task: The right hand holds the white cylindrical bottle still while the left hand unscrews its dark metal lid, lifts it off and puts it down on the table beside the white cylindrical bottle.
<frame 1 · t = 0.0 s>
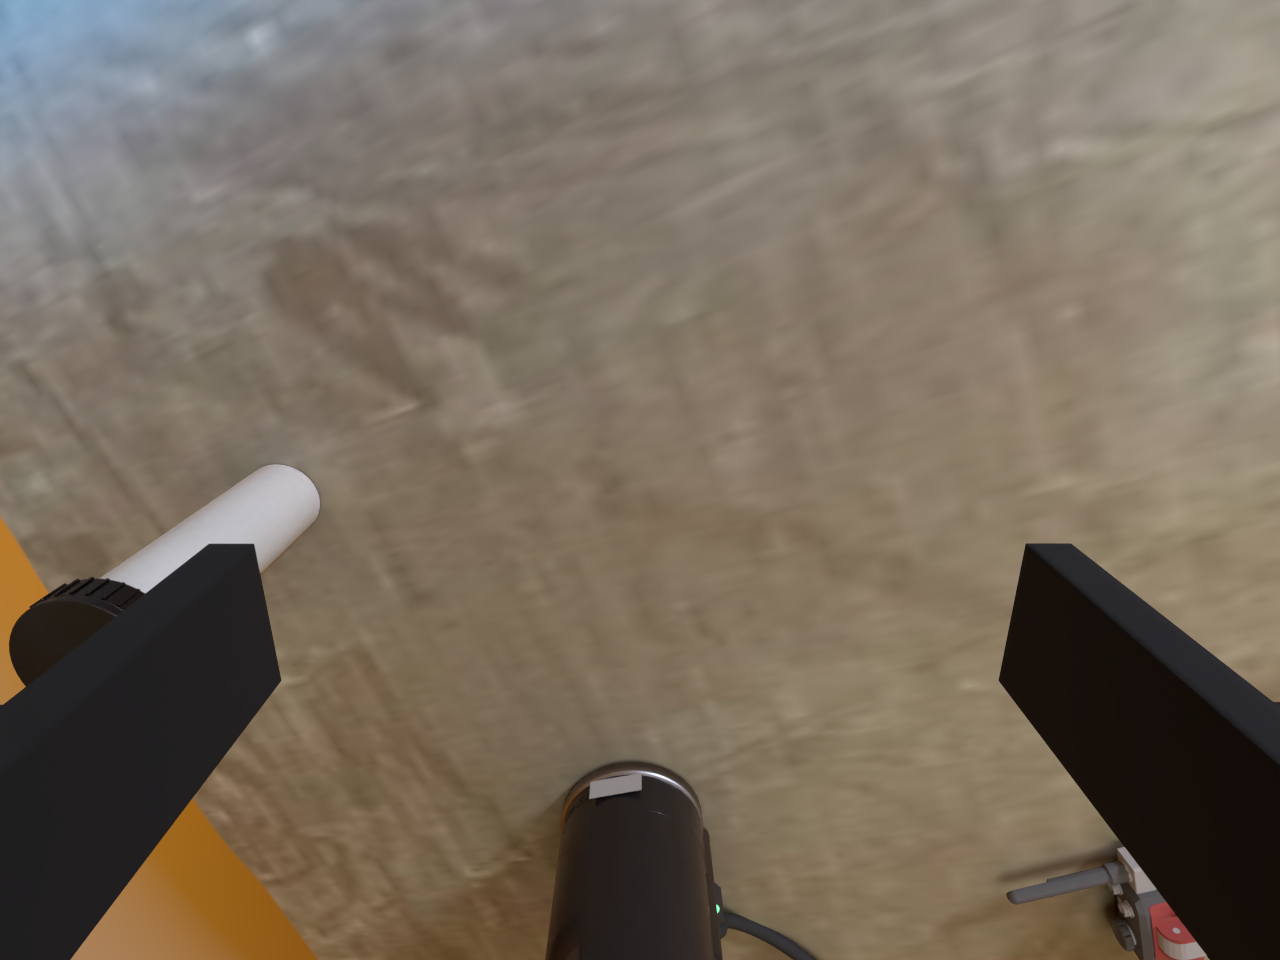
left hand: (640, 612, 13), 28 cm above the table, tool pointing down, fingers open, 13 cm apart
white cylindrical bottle: (283, 498, 42), on the table
lid: (89, 657, 27), point 16 cm above the table, screwed on, not yet turned
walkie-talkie: (1146, 879, 52), on the table
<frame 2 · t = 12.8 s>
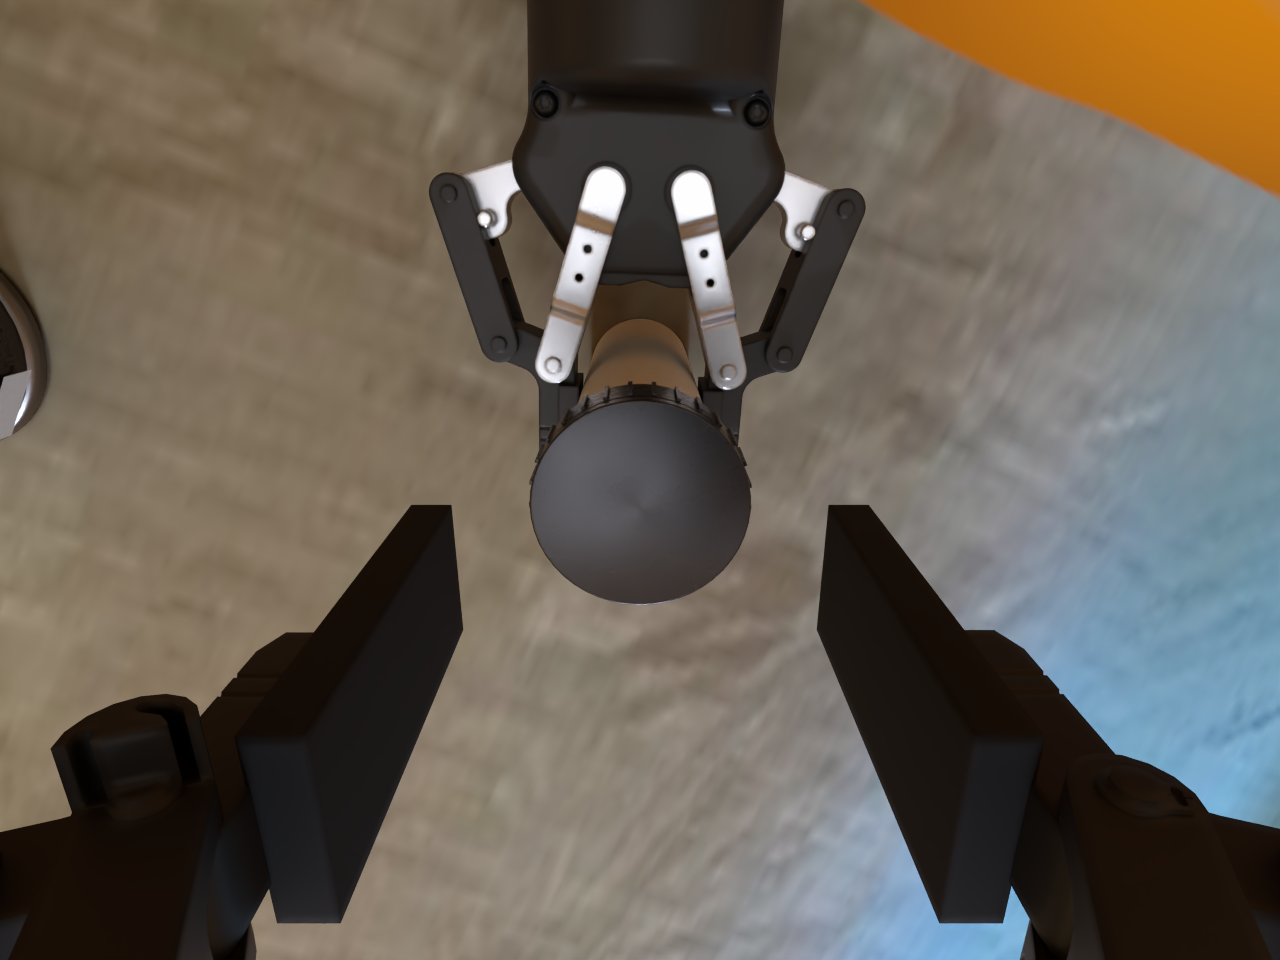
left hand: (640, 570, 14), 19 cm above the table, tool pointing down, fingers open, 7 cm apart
right hand: (636, 478, 27), fingers closed on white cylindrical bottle, 4 cm apart
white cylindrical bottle: (639, 367, 33), on the table, touching right hand
lid: (640, 502, 18), point 16 cm above the table, screwed on, not yet turned
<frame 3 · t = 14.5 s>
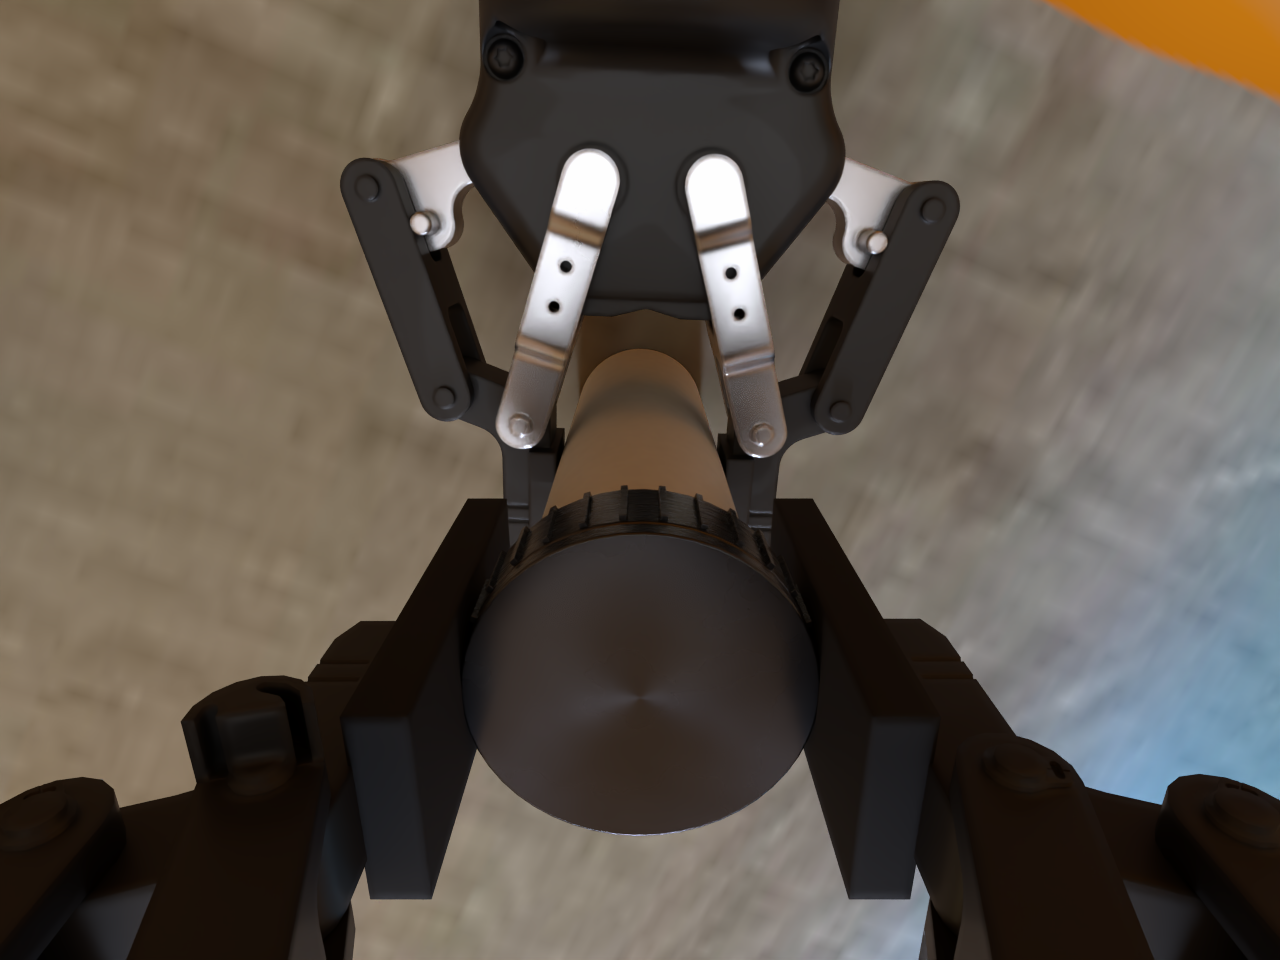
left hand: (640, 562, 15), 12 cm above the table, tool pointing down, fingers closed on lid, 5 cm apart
right hand: (635, 568, 20), fingers closed on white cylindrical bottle, 4 cm apart
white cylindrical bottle: (640, 408, 26), on the table, touching right hand
lid: (640, 683, 11), point 16 cm above the table, screwed on, not yet turned, touching left hand
when the left hand's fingers open (12 cm above the table, at t = 15.8 s): lid stays where it is, point 16 cm above the table.
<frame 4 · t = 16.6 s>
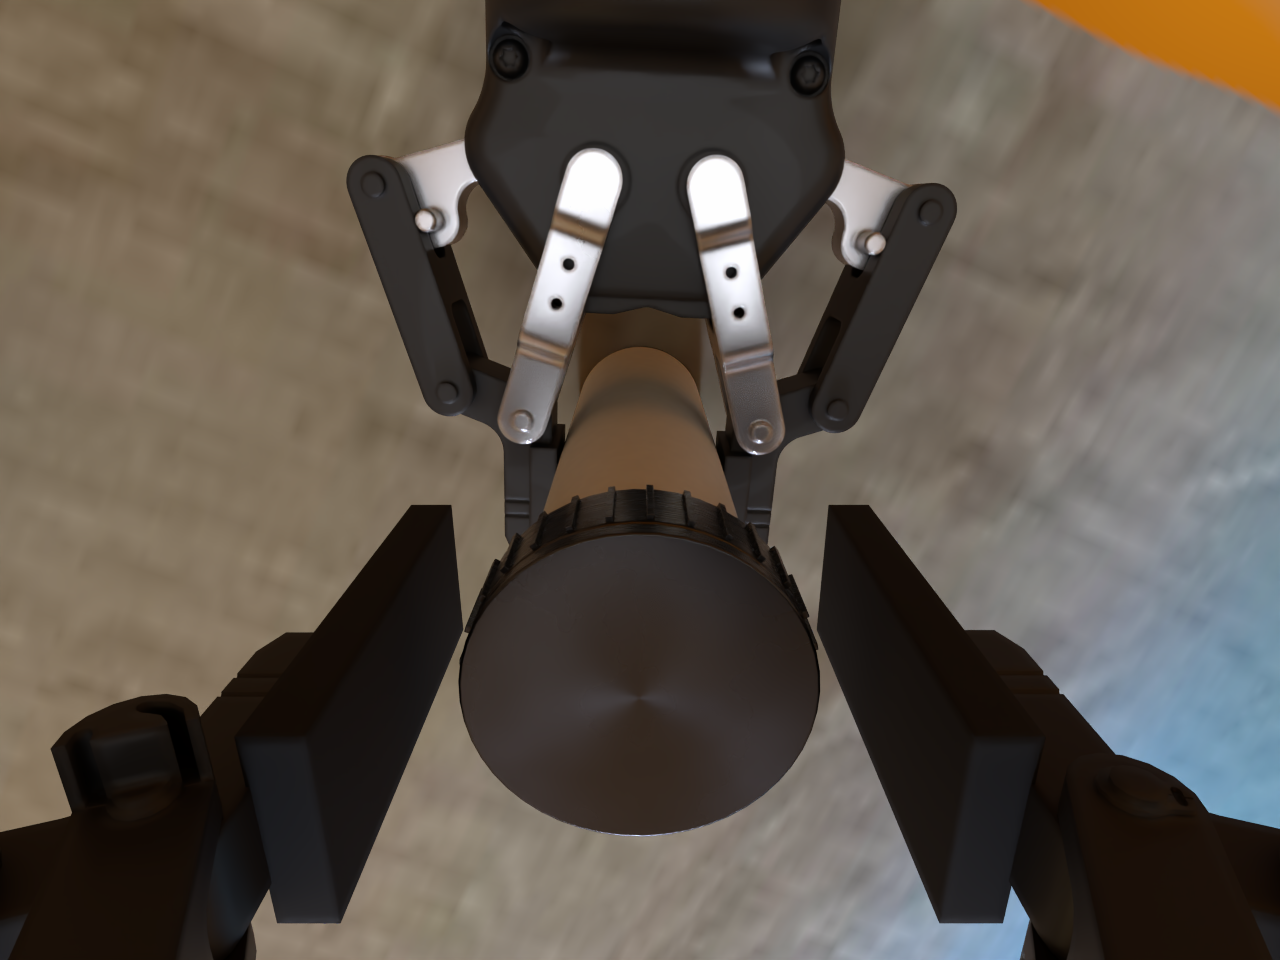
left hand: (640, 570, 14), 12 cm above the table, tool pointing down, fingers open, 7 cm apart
right hand: (633, 563, 21), fingers closed on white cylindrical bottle, 4 cm apart
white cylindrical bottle: (639, 406, 26), on the table, touching right hand
lid: (639, 683, 11), point 16 cm above the table, turned 79° so far, risen 0.3 cm, still on its thread
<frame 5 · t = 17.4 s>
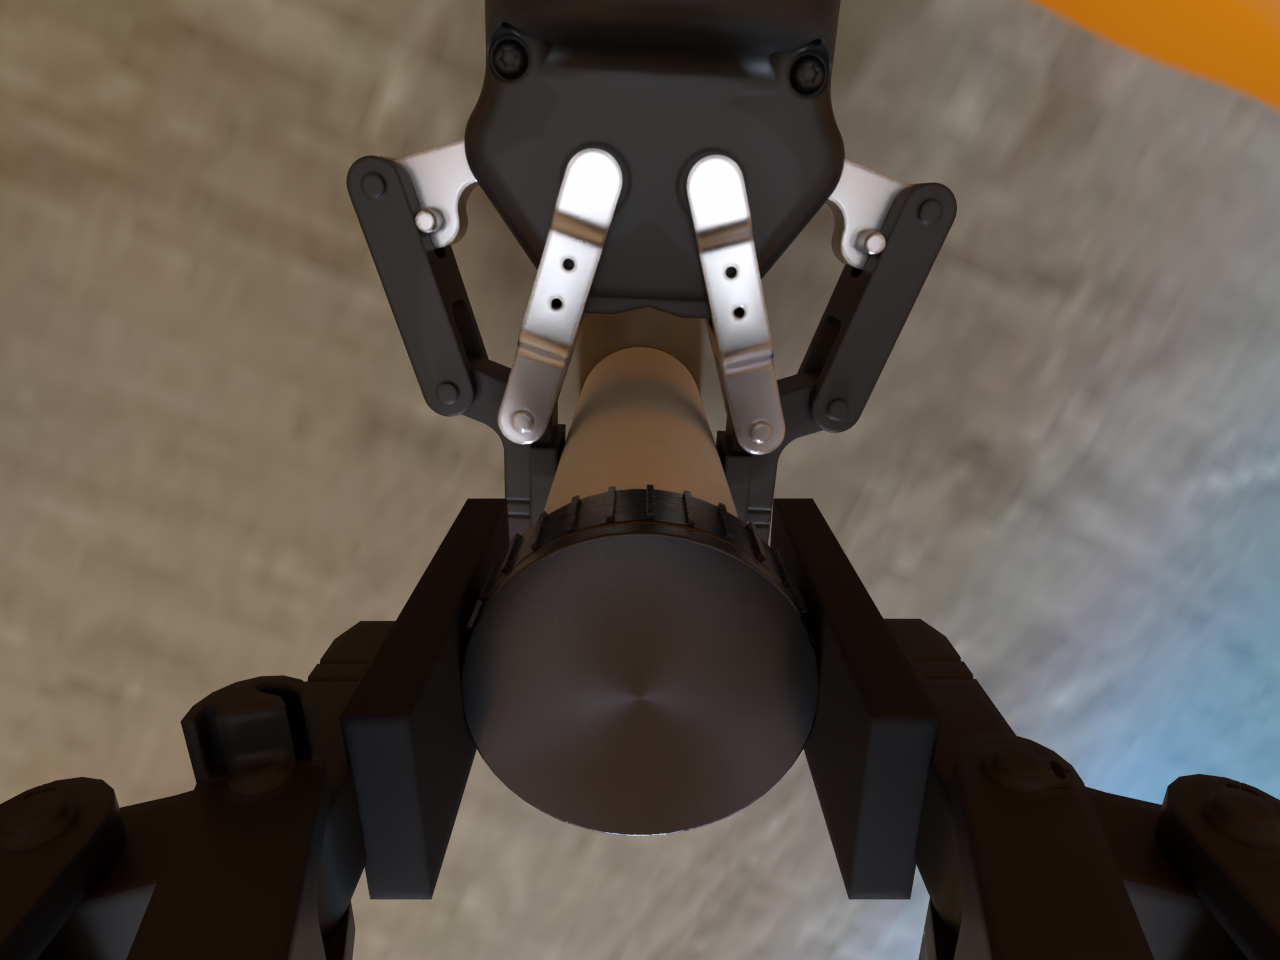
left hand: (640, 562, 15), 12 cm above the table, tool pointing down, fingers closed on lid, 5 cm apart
right hand: (634, 563, 21), fingers closed on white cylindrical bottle, 4 cm apart
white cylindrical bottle: (640, 406, 26), on the table, touching right hand
lid: (640, 683, 11), point 16 cm above the table, turned 79° so far, risen 0.3 cm, still on its thread, touching left hand
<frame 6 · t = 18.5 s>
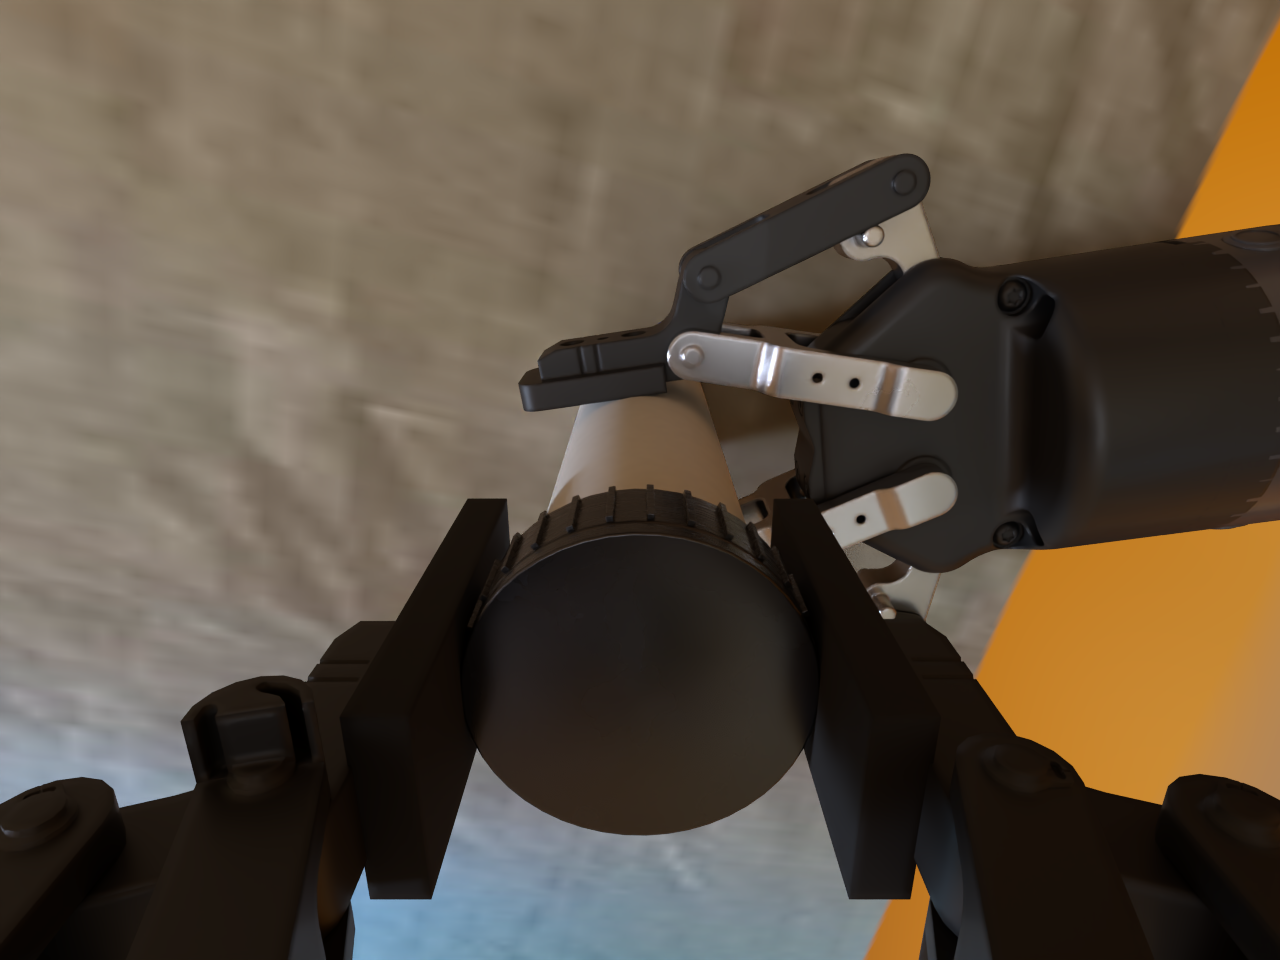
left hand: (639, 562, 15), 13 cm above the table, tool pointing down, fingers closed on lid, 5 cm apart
right hand: (545, 474, 20), fingers closed on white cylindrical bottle, 4 cm apart
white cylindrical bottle: (643, 400, 27), on the table, touching right hand
lid: (640, 682, 11), point 17 cm above the table, off its thread, touching left hand
when the left hand's fingers open (0 cm above the table, at t = 23.9 s): lid stays where it is, point 1 cm above the table.
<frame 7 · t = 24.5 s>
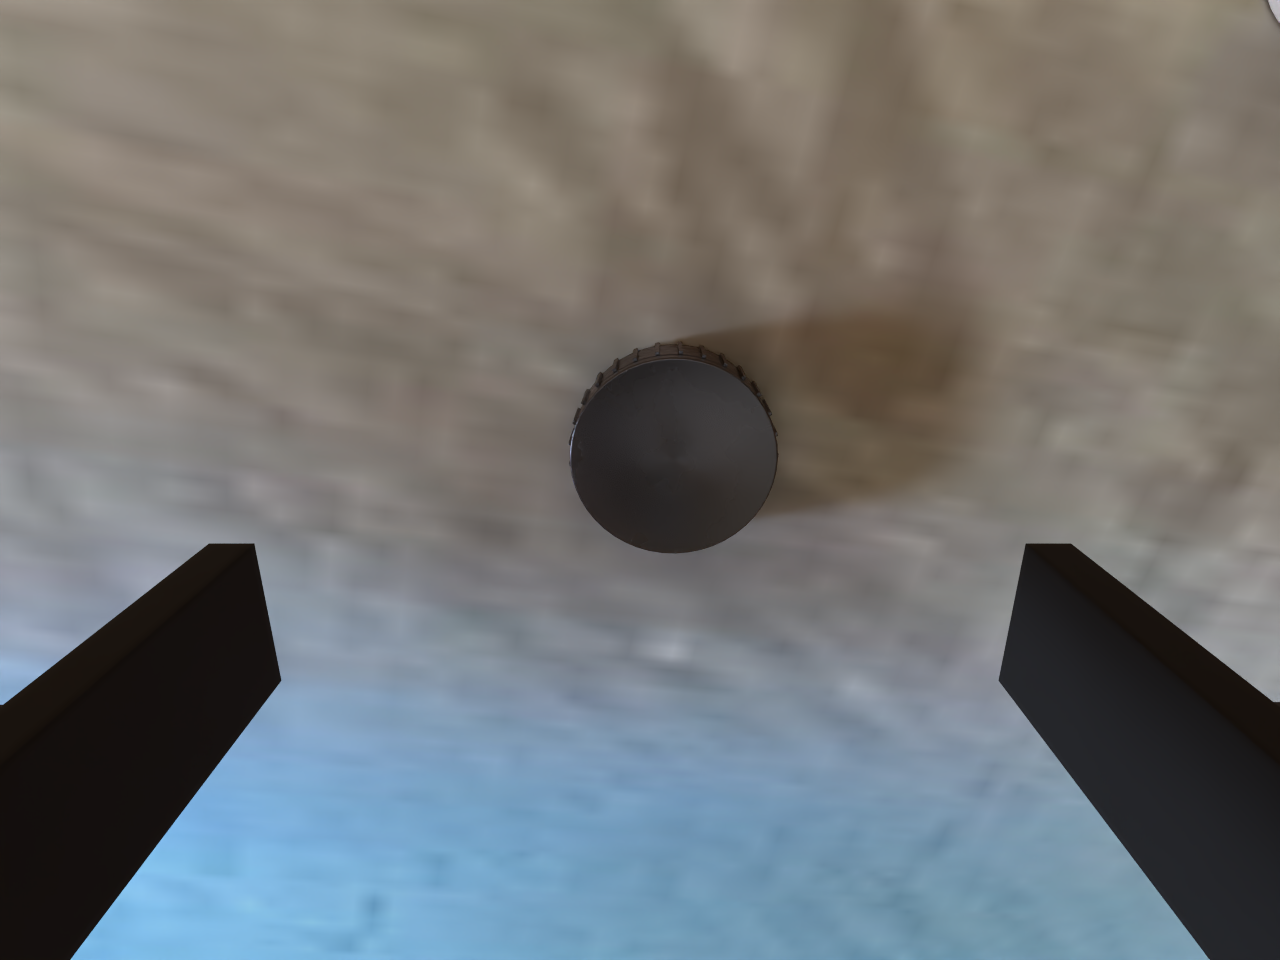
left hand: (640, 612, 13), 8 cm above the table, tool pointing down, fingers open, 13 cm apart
lid: (673, 456, 19), point 1 cm above the table, off its thread
when the right hand's fingers open (7 cm above the table, at t = 24.5 s): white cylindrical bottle stays where it is, on the table.
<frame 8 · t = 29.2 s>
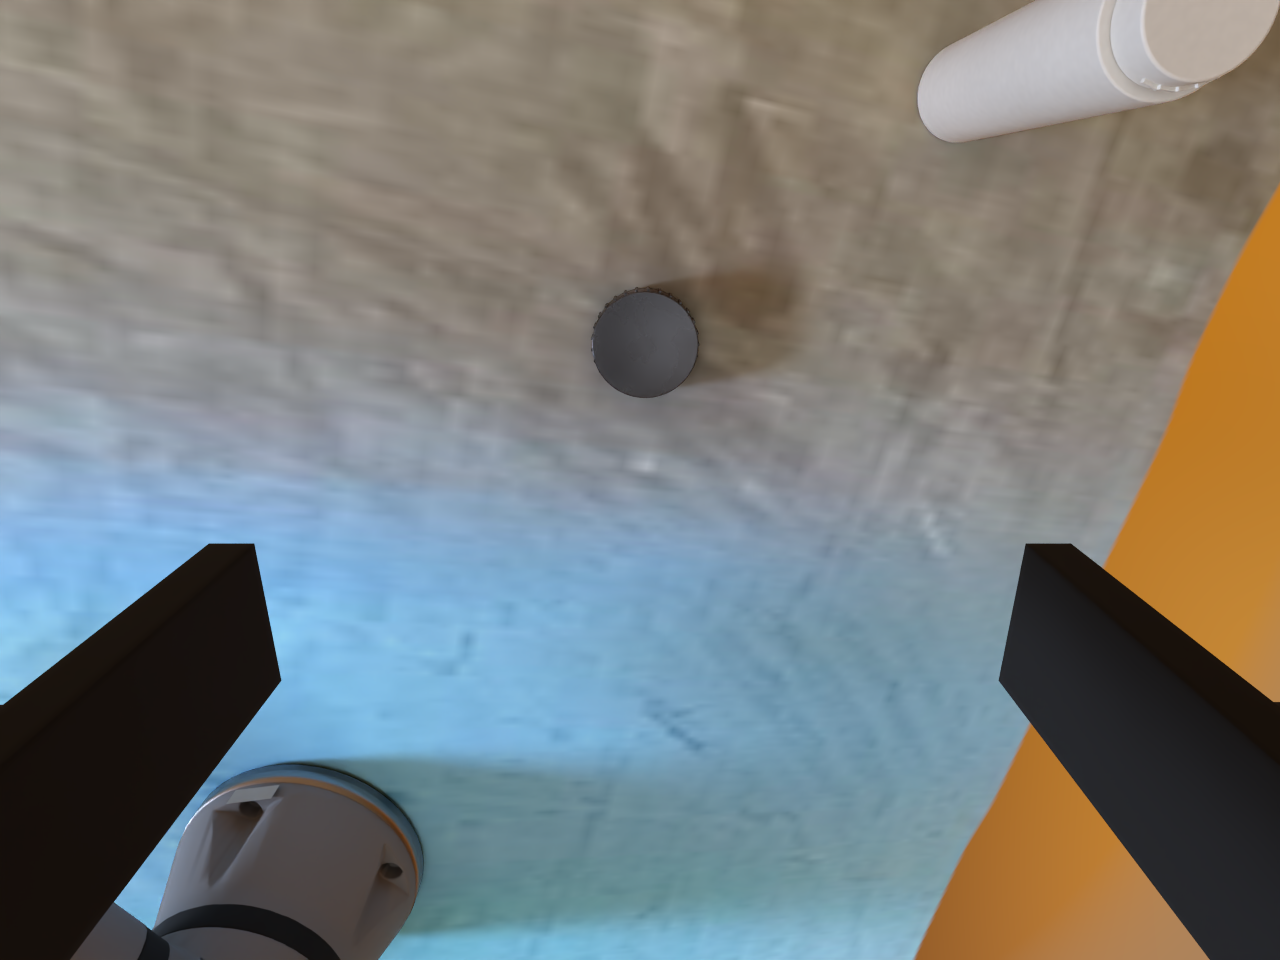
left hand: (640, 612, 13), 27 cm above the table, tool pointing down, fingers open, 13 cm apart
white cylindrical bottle: (963, 92, 34), on the table
lid: (645, 344, 37), point 1 cm above the table, off its thread
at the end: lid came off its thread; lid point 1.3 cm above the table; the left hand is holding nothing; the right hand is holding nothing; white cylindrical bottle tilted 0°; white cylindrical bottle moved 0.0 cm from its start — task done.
